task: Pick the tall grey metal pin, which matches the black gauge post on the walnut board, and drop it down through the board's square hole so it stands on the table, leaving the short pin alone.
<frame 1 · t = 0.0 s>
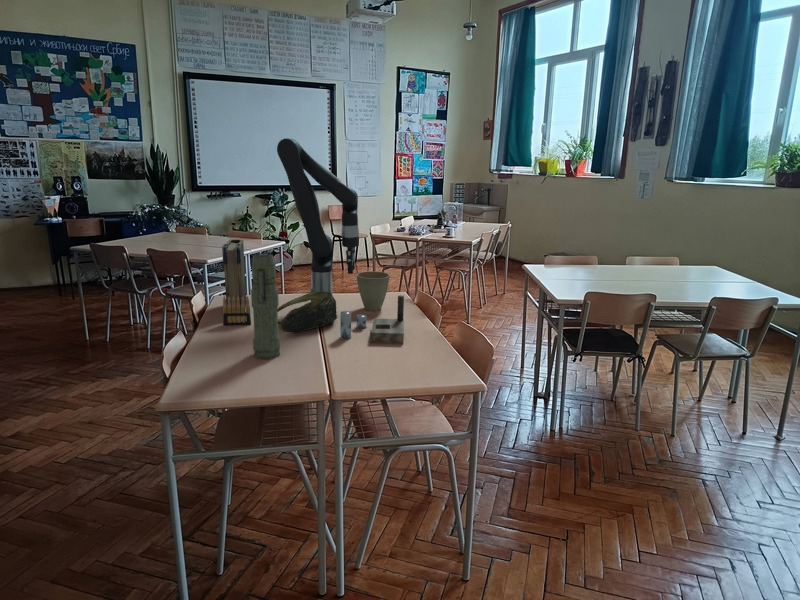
hand: (351, 271, 235), 17 cm above the table, tool pointing down, fingers open, 8 cm apart
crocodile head: (305, 329, 210), on the table
short pin: (361, 327, 213), on the table
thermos: (267, 355, 181), on the table
hole board: (388, 335, 204), on the table
plant pot: (372, 309, 240), on the table
ammunition clip: (237, 325, 212), on the table
tall pin: (345, 337, 200), on the table
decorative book: (237, 309, 233), on the table
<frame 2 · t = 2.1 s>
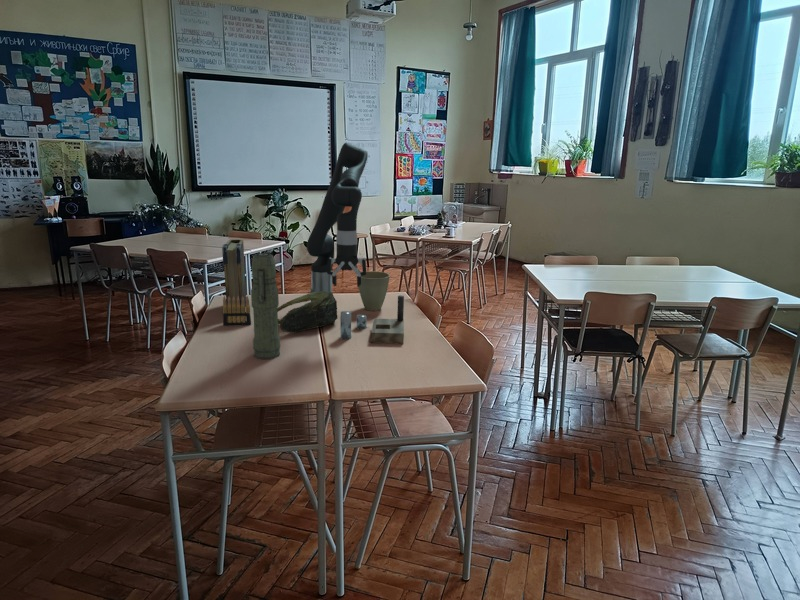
hand: (346, 285, 195), 20 cm above the table, tool pointing down, fingers open, 8 cm apart
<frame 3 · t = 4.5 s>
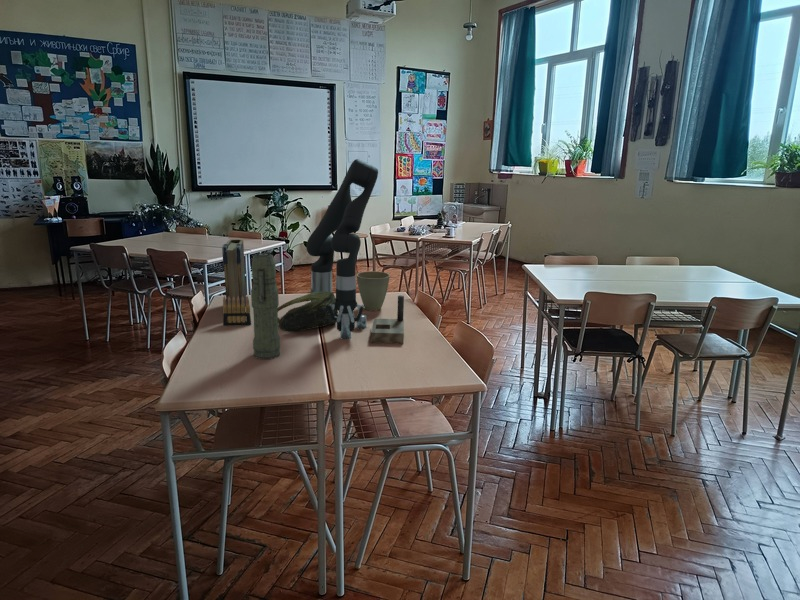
hand: (345, 330, 200), 3 cm above the table, tool pointing down, fingers closed on tall pin, 4 cm apart
tall pin: (345, 337, 200), on the table, touching gripper
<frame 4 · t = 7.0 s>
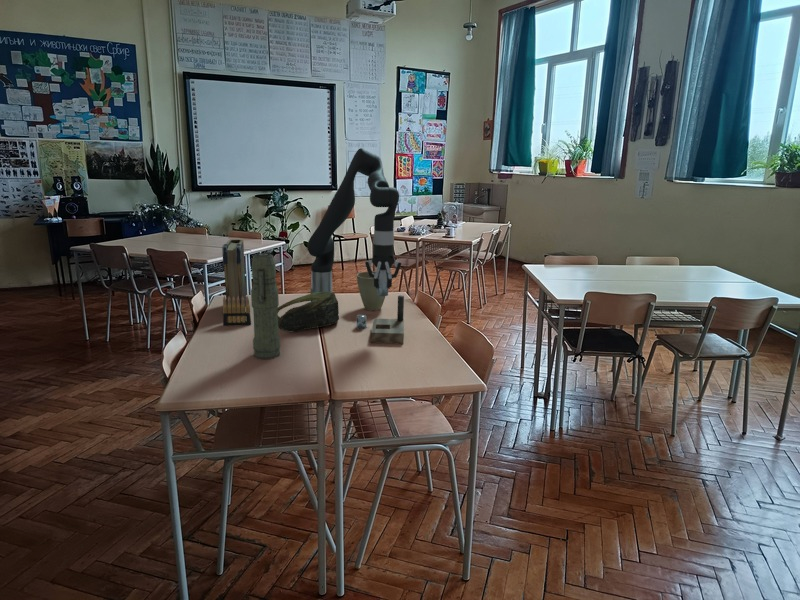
hand: (382, 287, 198), 19 cm above the table, tool pointing down, fingers closed on tall pin, 4 cm apart
tall pin: (382, 295, 198), point 17 cm above the table, touching gripper
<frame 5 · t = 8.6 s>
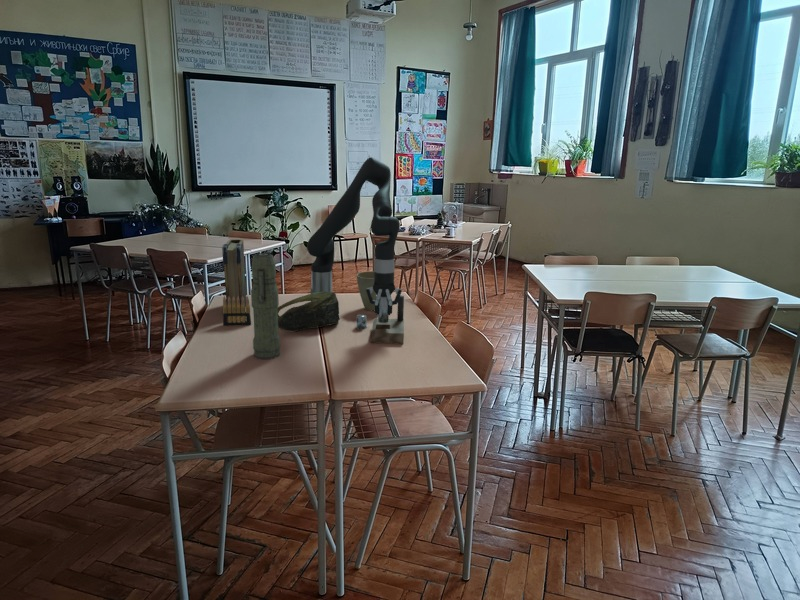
hand: (383, 314, 201), 9 cm above the table, tool pointing down, fingers closed on tall pin, 4 cm apart
tall pin: (383, 321, 201), point 6 cm above the table, touching gripper
when the fingers open (5 cm above the table, at t = 9.8 s): tall pin drops 2 cm, resting in hole board.
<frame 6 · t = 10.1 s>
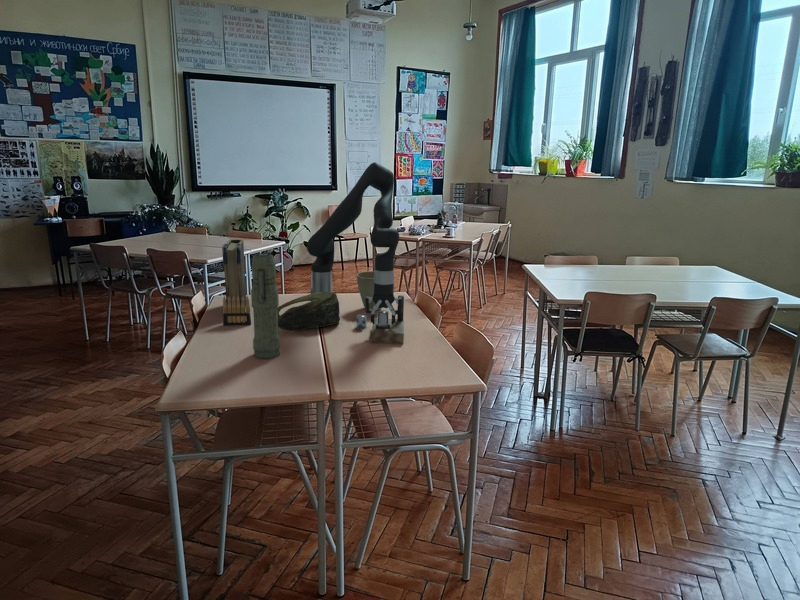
hand: (383, 323, 202), 5 cm above the table, tool pointing down, fingers open, 6 cm apart
tall pin: (382, 336, 203), resting in hole board
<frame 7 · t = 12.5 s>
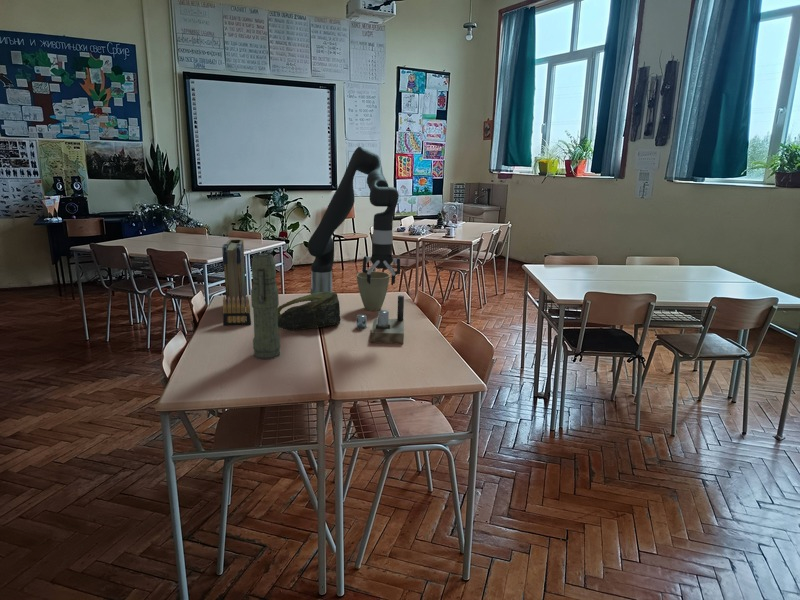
hand: (380, 284, 199), 20 cm above the table, tool pointing down, fingers open, 8 cm apart
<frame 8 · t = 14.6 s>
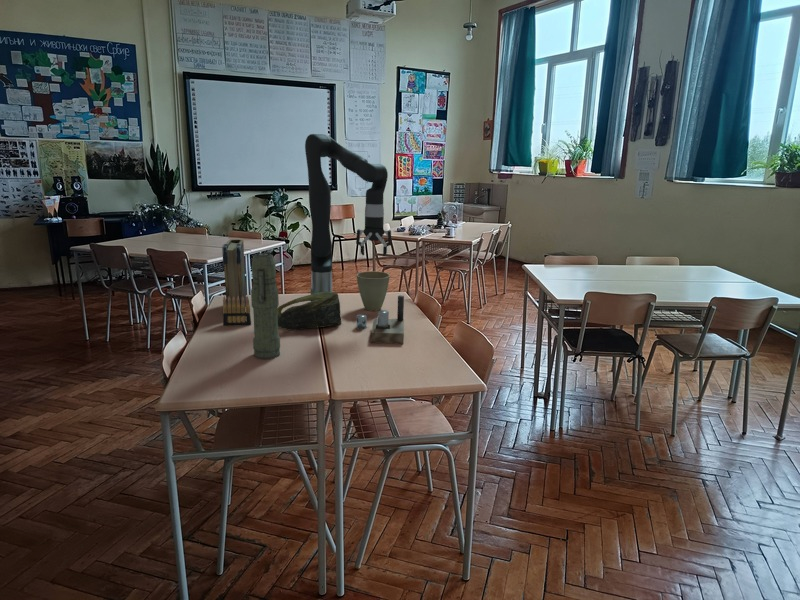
hand: (373, 255, 214), 28 cm above the table, tool pointing down, fingers open, 8 cm apart
at the end: tall pin 0.0 cm from the target spot on the hole board, point 0.0 cm above the hole board's base; tall pin tilted 0°; short pin moved 0.1 cm from its start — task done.
